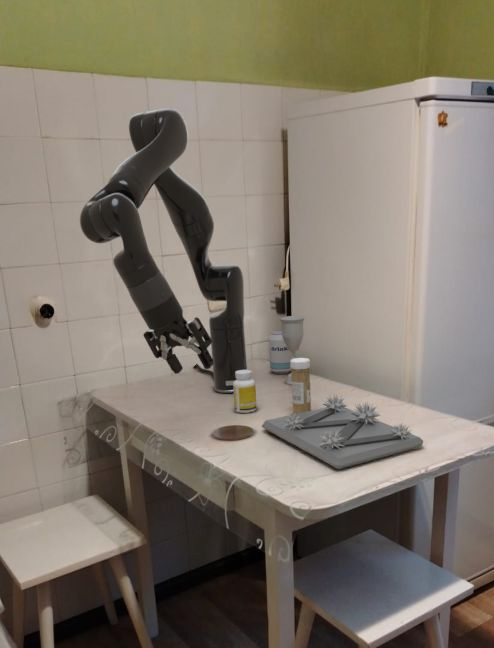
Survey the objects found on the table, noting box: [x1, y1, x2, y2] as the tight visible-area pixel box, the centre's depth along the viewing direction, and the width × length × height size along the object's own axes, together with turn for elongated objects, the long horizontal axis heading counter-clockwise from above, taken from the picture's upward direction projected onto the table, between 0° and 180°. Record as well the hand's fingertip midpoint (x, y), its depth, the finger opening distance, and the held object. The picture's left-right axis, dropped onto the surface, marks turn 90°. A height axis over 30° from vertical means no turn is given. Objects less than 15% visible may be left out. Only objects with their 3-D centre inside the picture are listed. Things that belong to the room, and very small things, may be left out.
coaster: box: [212, 424, 254, 442], centre depth 142 cm, size 9×9×1 cm
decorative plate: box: [261, 393, 424, 470], centre depth 134 cm, size 30×22×7 cm
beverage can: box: [268, 330, 292, 375], centre depth 192 cm, size 7×7×12 cm
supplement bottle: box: [233, 369, 258, 414], centre depth 156 cm, size 5×5×10 cm
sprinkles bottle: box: [290, 357, 312, 415], centre depth 150 cm, size 5×5×14 cm
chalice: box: [279, 315, 306, 385], centre depth 179 cm, size 7×7×18 cm
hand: (194, 369), depth 131 cm, fingers open, 8 cm apart
